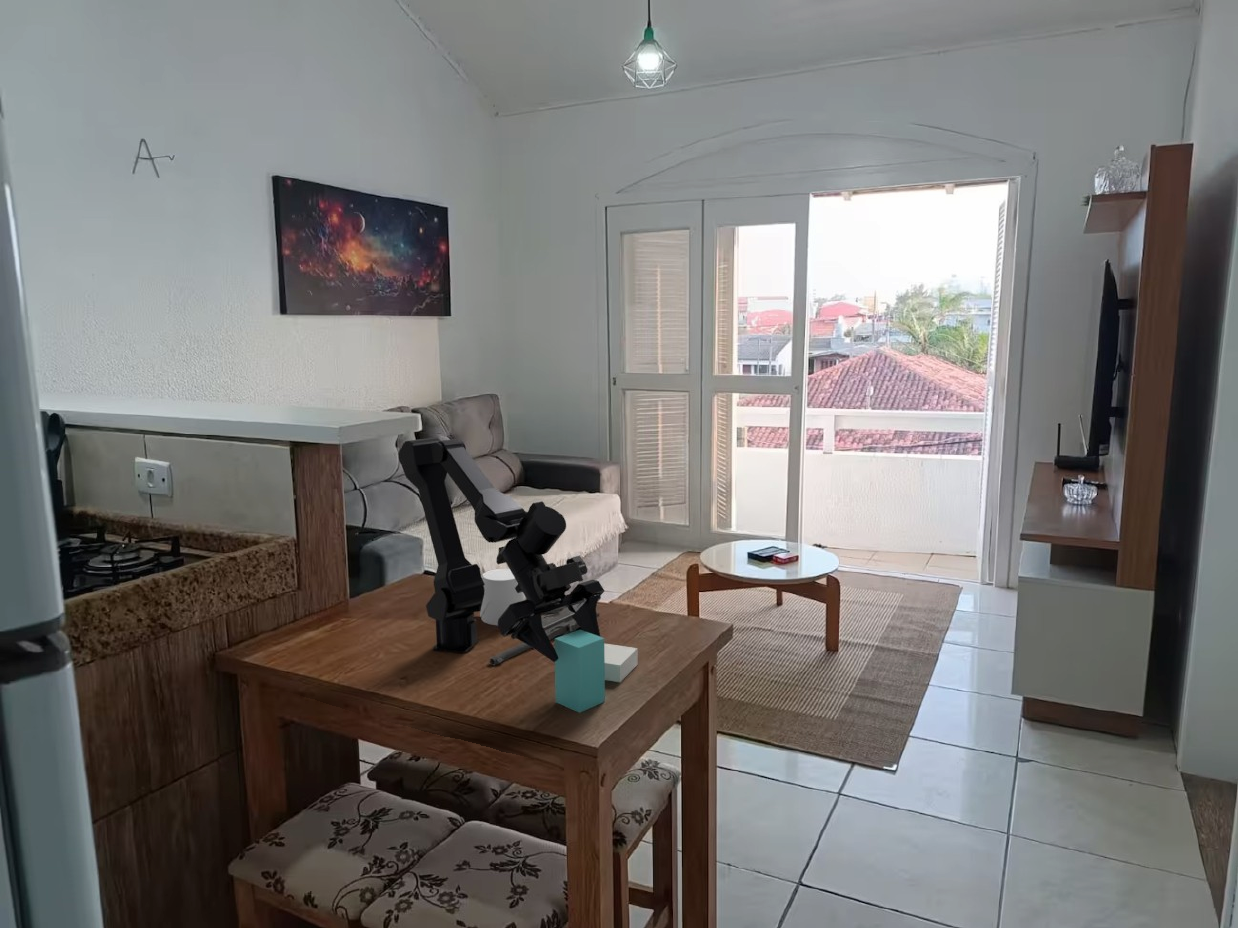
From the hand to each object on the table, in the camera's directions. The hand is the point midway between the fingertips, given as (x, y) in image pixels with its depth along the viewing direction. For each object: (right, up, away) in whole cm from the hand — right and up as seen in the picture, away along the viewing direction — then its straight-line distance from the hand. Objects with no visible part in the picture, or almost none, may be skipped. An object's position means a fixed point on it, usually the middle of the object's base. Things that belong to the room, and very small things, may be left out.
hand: (578, 652), depth 137 cm
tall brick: (0, -8, +1) cm, 8 cm away
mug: (-18, -2, +39) cm, 43 cm away
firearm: (-11, -4, +31) cm, 33 cm away
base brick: (+4, -6, +13) cm, 15 cm away
